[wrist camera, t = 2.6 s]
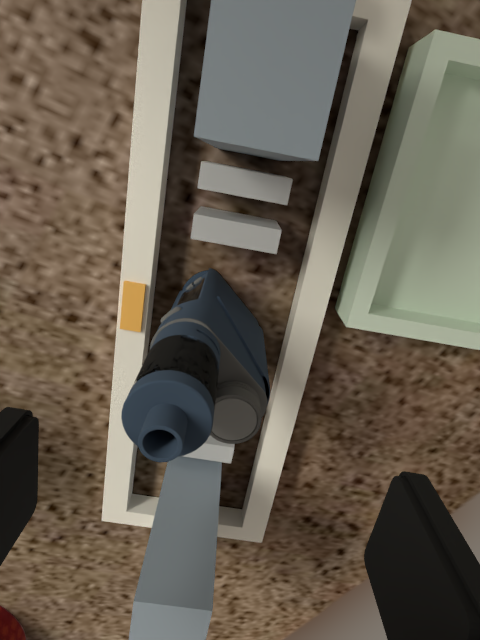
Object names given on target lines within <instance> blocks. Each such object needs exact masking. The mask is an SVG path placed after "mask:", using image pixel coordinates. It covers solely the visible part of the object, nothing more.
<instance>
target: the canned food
mask: <svg viewBox="0 0 480 640" xmlns="http://www.w3.org/2000/svg"><path fill="white" fill-rule="evenodd" d="M0 640H26V636H25V632H24V630H23V628H22V626H21V624H20V623H19V621H18V620H17V619H16V618H15V617H14V616H13V615H12V614H11V613H10V612H9V611H7V610H6V609H5V608H4V607H2V606H0Z"/></svg>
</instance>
